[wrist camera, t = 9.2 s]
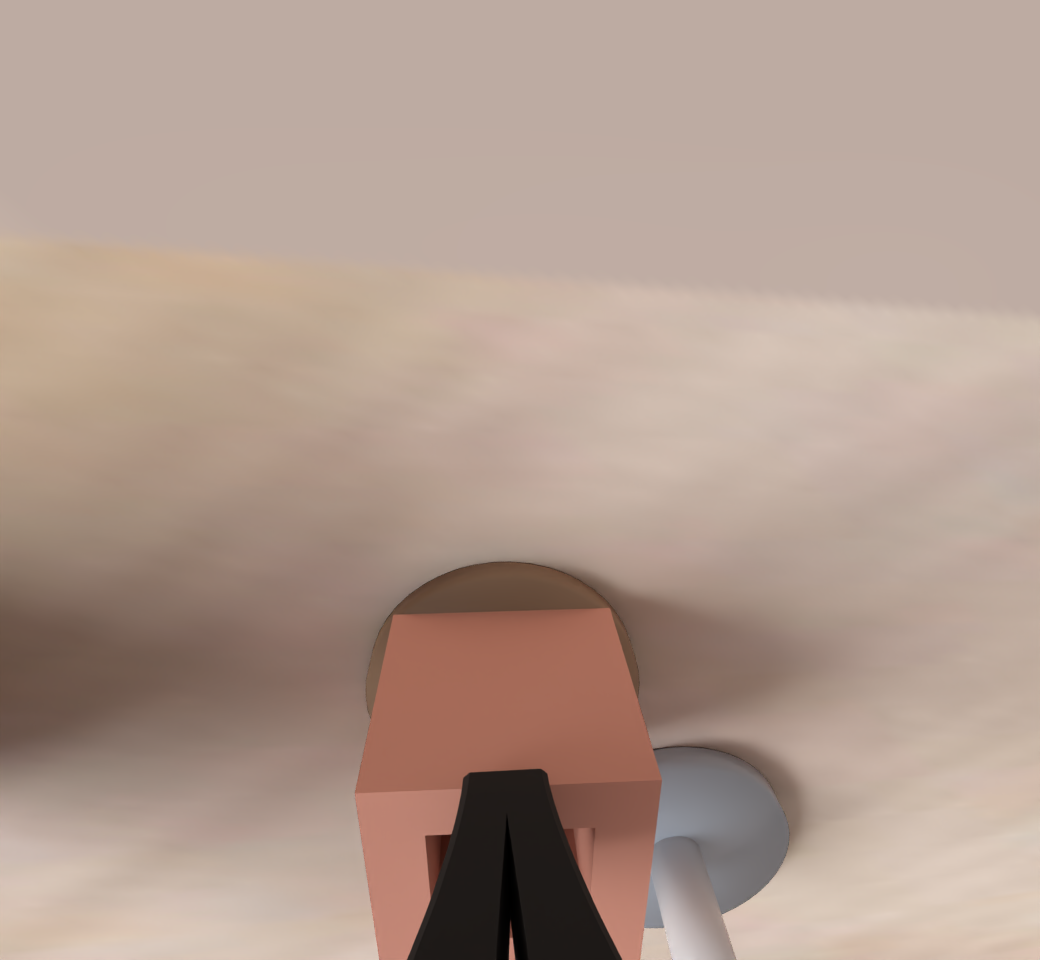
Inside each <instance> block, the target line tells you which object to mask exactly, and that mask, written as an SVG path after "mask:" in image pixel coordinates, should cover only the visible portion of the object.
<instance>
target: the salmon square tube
mask: <svg viewBox="0 0 1040 960" xmlns="http://www.w3.org/2000/svg"><path fill="white" fill-rule="evenodd" d="M524 769H542V770H543V771H545V772H546V773H547V774H548V780H549V784H550V788H551V792H552V796H553V799H554V803H555V806H556V809H557V812H558V815H559V818H560V821H561V824H562V827H563V829H564V832H565V835H566V837H567V840H568V843H569V845H570V848H571V850H572V853H573V855H574V858H575V860H576V863H577V865H578V867H579V870H580V872H581V874H582V876H583V879H584V881H585V883H586V885H587V888H588V890H589V892H590V894H591V897H592V899H593V901H594V903H595V906H596V908H597V910H598V912H599V914H600V916H601V918H602V920H603V922H604V924H605V926H606V928H607V930H608V932H609V934H610V936H611V938H612V940H613V942H614V944H615V946H616V948H617V950H618V952H619V954H620V956H621V958H622V960H640V956H641V948H642V940H643V931H644V923H645V915H646V907H647V899H648V891H649V883H650V875H651V866H652V858H653V850H654V842H655V834H656V826H657V818H658V810H659V801H660V793H661V785H662V778H661V775H660V771H659V768H658V765H657V761H656V758H655V755H654V752H653V748H652V745H651V742H650V738H649V735H648V732H647V729H646V725H645V722H644V719H643V715H642V712H641V709H640V706H639V702H638V699H637V696H636V692H635V689H634V686H633V683H632V679H631V676H630V673H629V669H628V666H627V663H626V660H625V656H624V653H623V650H622V646H621V643H620V640H619V636H618V633H617V630H616V627H615V623H614V620H613V617H612V613H611V610H610V608H594V609H562V610H530V611H498V612H466V613H434V614H402V615H393V618H392V623H391V628H390V632H389V637H388V642H387V646H386V651H385V656H384V660H383V665H382V670H381V674H380V679H379V683H378V688H377V693H376V697H375V702H374V707H373V711H372V716H371V721H370V725H369V730H368V734H367V739H366V744H365V748H364V753H363V758H362V762H361V767H360V772H359V776H358V781H357V785H356V790H355V798H356V805H357V812H358V819H359V825H360V832H361V839H362V846H363V852H364V859H365V866H366V873H367V880H368V886H369V893H370V900H371V907H372V913H373V920H374V927H375V934H376V940H377V947H378V954H379V960H407V958H408V956H409V953H410V951H411V948H412V946H413V943H414V941H415V938H416V936H417V933H418V931H419V928H420V926H421V923H422V921H423V918H424V916H425V913H426V910H427V908H428V905H429V902H430V900H431V897H432V894H433V891H434V888H435V885H436V882H437V879H438V876H439V873H440V870H441V867H442V864H443V861H444V858H445V855H446V852H447V848H448V845H449V841H450V838H451V834H452V831H453V827H454V823H455V819H456V815H457V811H458V806H459V801H460V796H461V791H462V783H463V778H464V777H465V776H466V775H467V774H468V773H470V772H487V771H505V770H524ZM509 960H515V954H514V945H513V937H512V928H511V921H510V946H509Z"/></svg>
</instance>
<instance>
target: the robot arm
mask: <svg viewBox="0 0 1040 960" xmlns="http://www.w3.org/2000/svg"><path fill="white" fill-rule="evenodd" d="M510 921H511V928H512V937H513V945H514V954H515V960H622V958H621V956H620V954H619V952H618V950H617V948H616V946H615V944H614V942H613V940H612V938H611V936H610V934H609V932H608V930H607V928H606V926H605V924H604V922H603V920H602V918H601V916H600V914H599V912H598V910H597V908H596V906H595V903H594V901H593V899H592V897H591V894H590V892H589V890H588V888H587V885H586V883H585V881H584V879H583V876H582V874H581V872H580V870H579V867H578V865H577V863H576V860H575V858H574V855H573V853H572V850H571V848H570V845H569V843H568V840H567V837H566V835H565V832H564V829H563V827H562V824H561V821H560V818H559V815H558V812H557V809H556V806H555V803H554V799H553V796H552V792H551V788H550V784H549V780H548V774H547V773H546V772H545V771H543V770H542V769H524V770H505V771H487V772H470V773H468V774H467V775H466V776H465V777H464V778H463V783H462V791H461V796H460V801H459V806H458V811H457V815H456V819H455V823H454V827H453V831H452V834H451V838H450V841H449V845H448V848H447V852H446V855H445V858H444V861H443V864H442V867H441V870H440V873H439V876H438V879H437V882H436V885H435V888H434V891H433V894H432V897H431V900H430V902H429V905H428V908H427V910H426V913H425V916H424V918H423V921H422V923H421V926H420V928H419V931H418V933H417V936H416V938H415V941H414V943H413V946H412V948H411V951H410V953H409V956H408V958H407V960H509V946H510Z"/></svg>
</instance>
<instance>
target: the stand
mask: <svg viewBox="0 0 1040 960" xmlns="http://www.w3.org/2000/svg"><path fill="white" fill-rule="evenodd" d="M653 752H654V755H655V758H656V761H657V765H658V768H659V771H660V775H661V778H662V785H661V793H660V801H659V810H658V818H657V826H656V834H655V842H654V850H653V858H652V866H651V875H650V883H649V891H648V899H647V907H646V915H645V923H644V928H665V933H666V937H667V941H668V945H669V949H670V953H671V957H672V960H736V957H735V954H734V951H733V948H732V944H731V941H730V938H729V935H728V932H727V929H726V926H725V923H724V920H723V917H722V914H724V913H726V912H728V911H730V910H732V909H734V908H736V907H738V906H739V905H741V904H743V903H744V902H746V901H747V900H749V899H750V898H752V897H753V896H754V895H755V894H757V893H758V892H759V891H760V890H761V889H762V888H764V887H765V886H766V885H767V884H768V883H769V881H770V880H771V879H772V878H773V877H774V875H775V874H776V873H777V871H778V869H779V868H780V866H781V865H782V863H783V860H784V858H785V856H786V853H787V849H788V845H789V827H788V822H787V819H786V816H785V814H784V812H783V810H782V807H781V805H780V803H779V801H778V799H777V797H776V795H775V793H774V791H773V789H772V787H771V786H770V784H769V782H768V781H767V780H766V779H765V777H764V776H763V775H762V774H761V773H760V772H759V771H758V770H756V769H755V768H754V767H753V766H751V765H750V764H748V763H746V762H745V761H743V760H741V759H739V758H737V757H734V756H732V755H730V754H727V753H723V752H720V751H716V750H711V749H705V748H694V747H674V748H664V749H657V750H653Z"/></svg>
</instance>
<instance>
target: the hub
mask: <svg viewBox="0 0 1040 960" xmlns="http://www.w3.org/2000/svg"><path fill="white" fill-rule="evenodd" d="M594 608H610V610H611V613H612V617H613V620H614V623H615V627H616V630H617V633H618V636H619V640H620V643H621V646H622V650H623V653H624V656H625V660H626V663H627V666H628V669H629V673H630V676H631V679H632V683H633V686H634V689H635V692H636V696H637V699H638V691H639V674H638V667H637V663H636V659H635V655H634V652H633V649H632V646H631V643H630V640H629V637H628V634H627V632H626V630H625V627H624V625H623V623H622V621H621V620H620V618H619V617H618V615H617V613H616V612H615V610H614V609H613V608H612V607H611V606H610V605H609V604H608V602H607V601H606V600H605V599H604V598H603V597H602V596H600V595H599V594H598V593H597V592H596V591H595V590H593V589H592V588H590V587H589V586H587V585H586V584H584V583H583V582H581V581H580V580H578V579H576V578H573V577H571V576H569V575H567V574H565V573H563V572H560V571H557V570H554V569H550V568H547V567H543V566H538V565H533V564H527V563H515V562H496V563H486V564H479V565H472V566H469V567H465V568H461V569H457V570H454V571H451V572H449V573H446V574H444V575H441V576H439V577H437V578H435V579H433V580H431V581H429V582H427V583H426V584H424V585H422V586H421V587H419V588H418V589H417V590H415V591H414V592H412V593H411V594H409V595H408V596H407V597H406V598H405V599H404V600H403V601H402V602H401V603H400V604H399V605H398V606H397V607H396V608H395V609H394V610H393V612H392V613H391V614H390V615H389V617H388V618H387V619H386V621H385V623H384V625H383V626H382V628H381V630H380V631H379V634H378V637H377V639H376V642H375V644H374V648H373V652H372V656H371V660H370V664H369V669H368V674H367V678H366V701H367V709H368V712H369V715H370V718H371V716H372V711H373V707H374V702H375V697H376V693H377V688H378V683H379V679H380V674H381V670H382V665H383V660H384V656H385V651H386V646H387V642H388V637H389V632H390V628H391V623H392V618H393V615H402V614H434V613H466V612H498V611H530V610H562V609H594Z"/></svg>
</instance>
